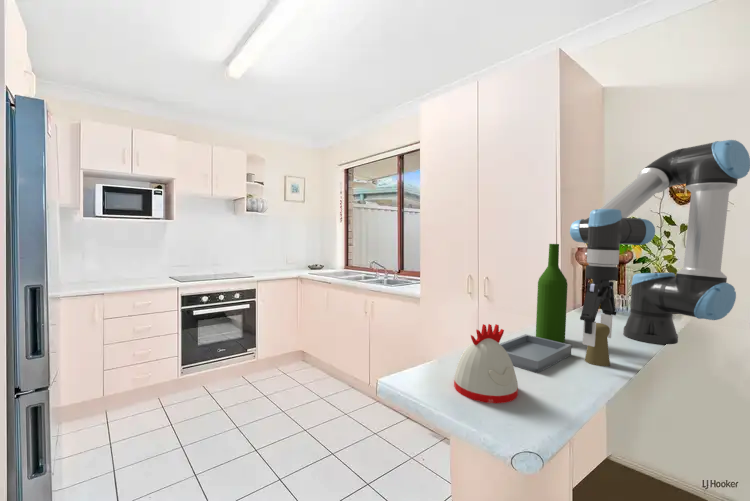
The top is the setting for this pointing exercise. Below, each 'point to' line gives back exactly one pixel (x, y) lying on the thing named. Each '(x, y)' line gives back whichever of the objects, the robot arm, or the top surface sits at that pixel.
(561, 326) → the wine bottle
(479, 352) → the kitchen timer
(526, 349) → the slate tray
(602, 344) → the cork
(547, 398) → the top surface
